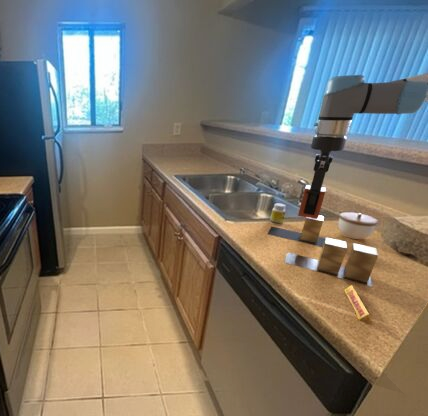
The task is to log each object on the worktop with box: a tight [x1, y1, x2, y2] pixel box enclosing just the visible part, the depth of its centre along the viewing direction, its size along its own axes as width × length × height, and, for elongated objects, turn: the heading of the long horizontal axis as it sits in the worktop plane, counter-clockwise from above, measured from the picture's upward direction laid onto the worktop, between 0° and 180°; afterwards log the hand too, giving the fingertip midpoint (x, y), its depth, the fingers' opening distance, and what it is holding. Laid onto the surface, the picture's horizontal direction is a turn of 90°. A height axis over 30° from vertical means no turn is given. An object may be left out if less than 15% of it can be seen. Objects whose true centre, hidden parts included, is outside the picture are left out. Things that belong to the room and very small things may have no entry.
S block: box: [297, 184, 327, 219], centre depth 85 cm, size 5×5×9 cm
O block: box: [300, 215, 325, 243], centre depth 101 cm, size 5×5×9 cm
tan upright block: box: [317, 236, 348, 275], centre depth 83 cm, size 5×5×9 cm
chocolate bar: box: [344, 284, 373, 324], centre depth 70 cm, size 3×12×2 cm, turn 154°
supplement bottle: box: [269, 202, 286, 226], centre depth 116 cm, size 5×5×8 cm
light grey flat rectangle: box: [284, 252, 373, 288], centre depth 85 cm, size 21×8×1 cm, turn 51°
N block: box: [344, 242, 379, 283], centre depth 80 cm, size 5×5×9 cm
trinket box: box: [337, 212, 379, 240], centre depth 103 cm, size 11×11×9 cm
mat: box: [267, 225, 326, 248], centre depth 105 cm, size 18×9×1 cm, turn 51°
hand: (309, 210), depth 86 cm, fingers closed on S block, 5 cm apart
